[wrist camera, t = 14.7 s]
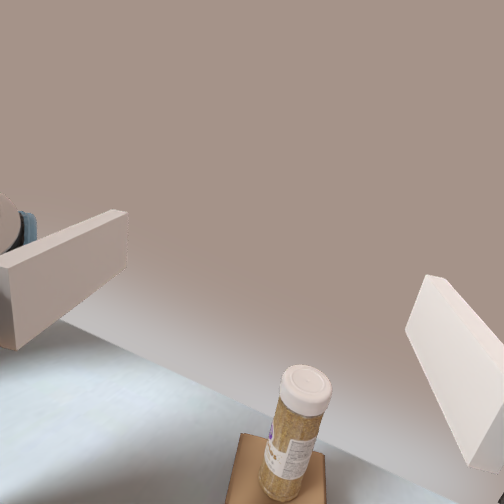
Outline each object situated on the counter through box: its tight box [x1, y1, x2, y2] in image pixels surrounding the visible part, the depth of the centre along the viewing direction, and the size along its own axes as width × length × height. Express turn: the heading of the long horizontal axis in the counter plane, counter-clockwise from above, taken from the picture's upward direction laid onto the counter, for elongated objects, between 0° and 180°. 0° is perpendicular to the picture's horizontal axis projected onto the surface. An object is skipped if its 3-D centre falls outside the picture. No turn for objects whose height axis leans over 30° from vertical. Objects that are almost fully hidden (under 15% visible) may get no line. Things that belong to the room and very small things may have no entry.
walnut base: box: [225, 433, 327, 504], centre depth 36 cm, size 10×10×4 cm
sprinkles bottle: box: [258, 365, 332, 502], centre depth 33 cm, size 5×5×13 cm
